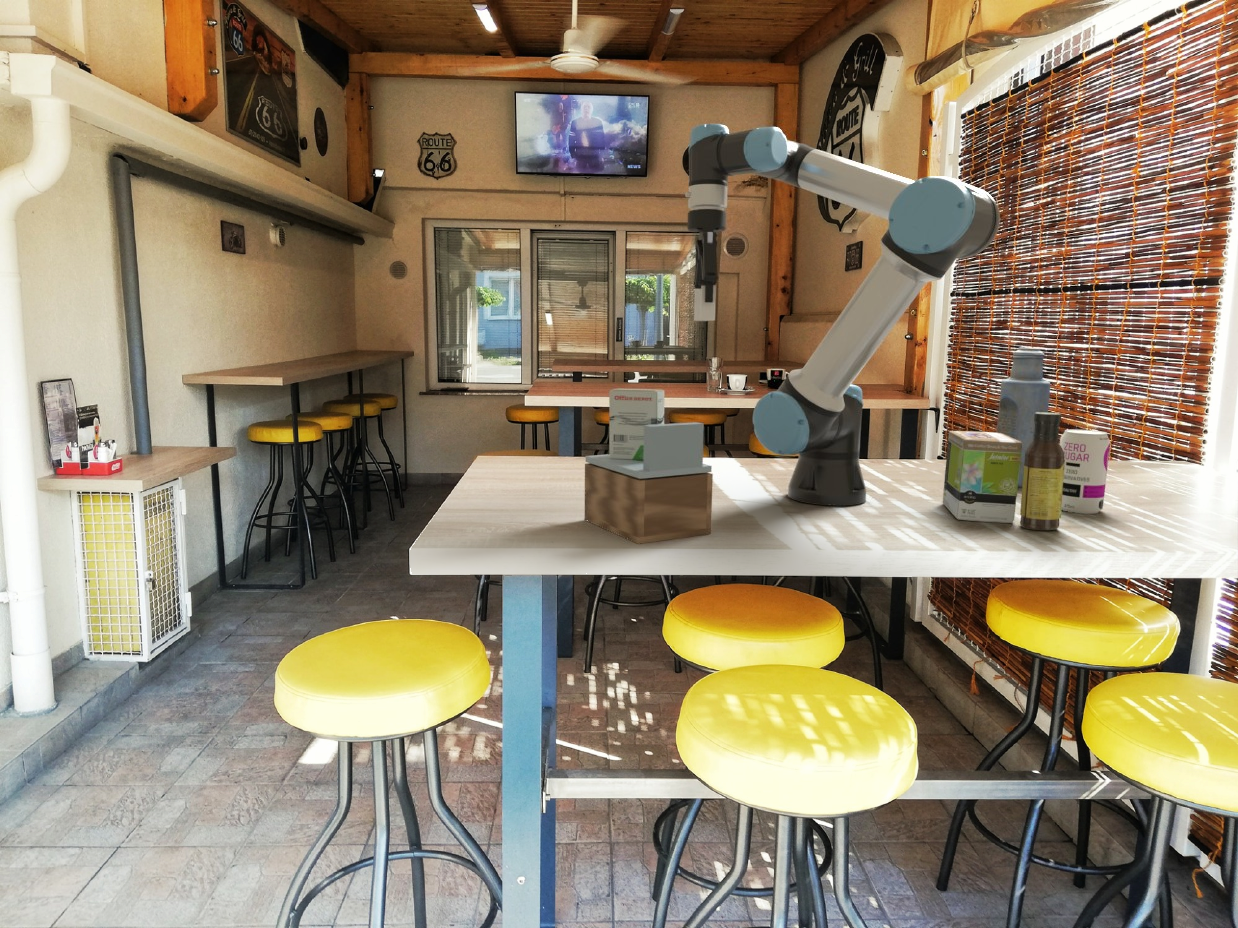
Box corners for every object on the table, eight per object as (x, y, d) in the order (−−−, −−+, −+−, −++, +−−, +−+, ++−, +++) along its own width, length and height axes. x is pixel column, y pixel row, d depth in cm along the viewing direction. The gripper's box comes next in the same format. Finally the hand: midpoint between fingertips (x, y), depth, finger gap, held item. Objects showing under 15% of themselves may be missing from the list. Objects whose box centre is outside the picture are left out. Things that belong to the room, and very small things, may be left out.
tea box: (1016, 524, 146) (1024, 441, 144) (955, 521, 148) (962, 438, 146) (995, 506, 161) (1002, 430, 158) (941, 503, 162) (946, 428, 160)
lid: (585, 461, 143) (585, 415, 142) (652, 456, 150) (652, 412, 149) (640, 478, 128) (640, 427, 127) (711, 471, 135) (712, 423, 133)
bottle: (982, 480, 188) (993, 346, 183) (1019, 478, 191) (1032, 347, 186) (1011, 488, 179) (1024, 348, 174) (1050, 486, 181) (1064, 348, 177)
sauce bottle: (1067, 531, 141) (1079, 414, 138) (1035, 533, 140) (1047, 415, 136) (1040, 522, 147) (1051, 410, 144) (1010, 524, 146) (1020, 411, 143)
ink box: (665, 457, 142) (666, 388, 141) (657, 462, 138) (658, 390, 136) (617, 454, 145) (617, 386, 143) (607, 458, 141) (608, 388, 139)
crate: (584, 520, 145) (584, 463, 143) (652, 512, 152) (653, 458, 150) (638, 543, 130) (639, 480, 128) (710, 533, 136) (712, 473, 135)
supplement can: (1099, 507, 160) (1108, 430, 158) (1104, 516, 153) (1113, 435, 150) (1052, 503, 164) (1060, 428, 161) (1054, 511, 156) (1062, 432, 154)
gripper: (682, 218, 174) (680, 320, 177) (693, 200, 149) (690, 320, 153) (718, 218, 174) (715, 321, 177) (735, 201, 149) (731, 320, 153)
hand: (703, 321), depth 165 cm, fingers open, 13 cm apart
